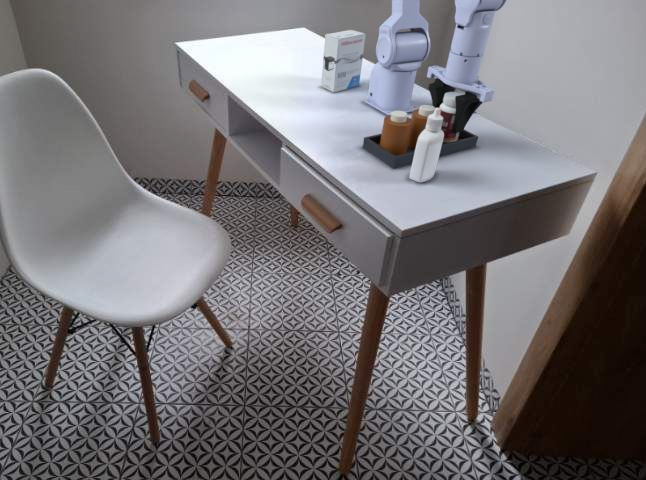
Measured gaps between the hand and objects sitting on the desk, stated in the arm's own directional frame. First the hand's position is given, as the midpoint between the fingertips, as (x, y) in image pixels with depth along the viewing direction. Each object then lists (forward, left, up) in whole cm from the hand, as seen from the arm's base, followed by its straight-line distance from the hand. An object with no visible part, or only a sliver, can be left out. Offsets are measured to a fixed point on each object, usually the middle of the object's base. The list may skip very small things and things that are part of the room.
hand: (447, 126), depth 99 cm
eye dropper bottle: (+9, -14, -3) cm, 17 cm away
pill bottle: (0, 0, -3) cm, 3 cm away
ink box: (-34, -1, -3) cm, 34 cm away
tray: (0, -6, -3) cm, 7 cm away
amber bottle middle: (0, -6, -2) cm, 7 cm away
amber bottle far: (0, -13, -2) cm, 13 cm away
